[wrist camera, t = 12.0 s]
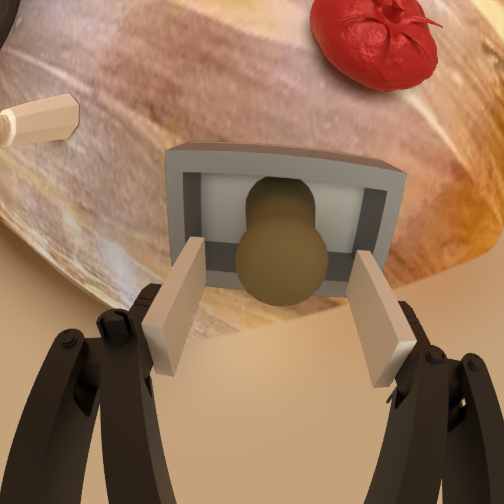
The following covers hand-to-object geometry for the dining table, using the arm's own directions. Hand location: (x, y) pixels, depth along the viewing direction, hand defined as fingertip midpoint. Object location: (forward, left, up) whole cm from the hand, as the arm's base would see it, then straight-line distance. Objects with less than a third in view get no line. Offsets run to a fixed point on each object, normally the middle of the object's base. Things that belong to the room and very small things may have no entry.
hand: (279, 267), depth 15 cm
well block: (0, 0, -11) cm, 11 cm away
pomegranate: (+6, +16, -12) cm, 21 cm away
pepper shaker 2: (0, 0, -11) cm, 11 cm away
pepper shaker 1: (-23, +9, -12) cm, 27 cm away
